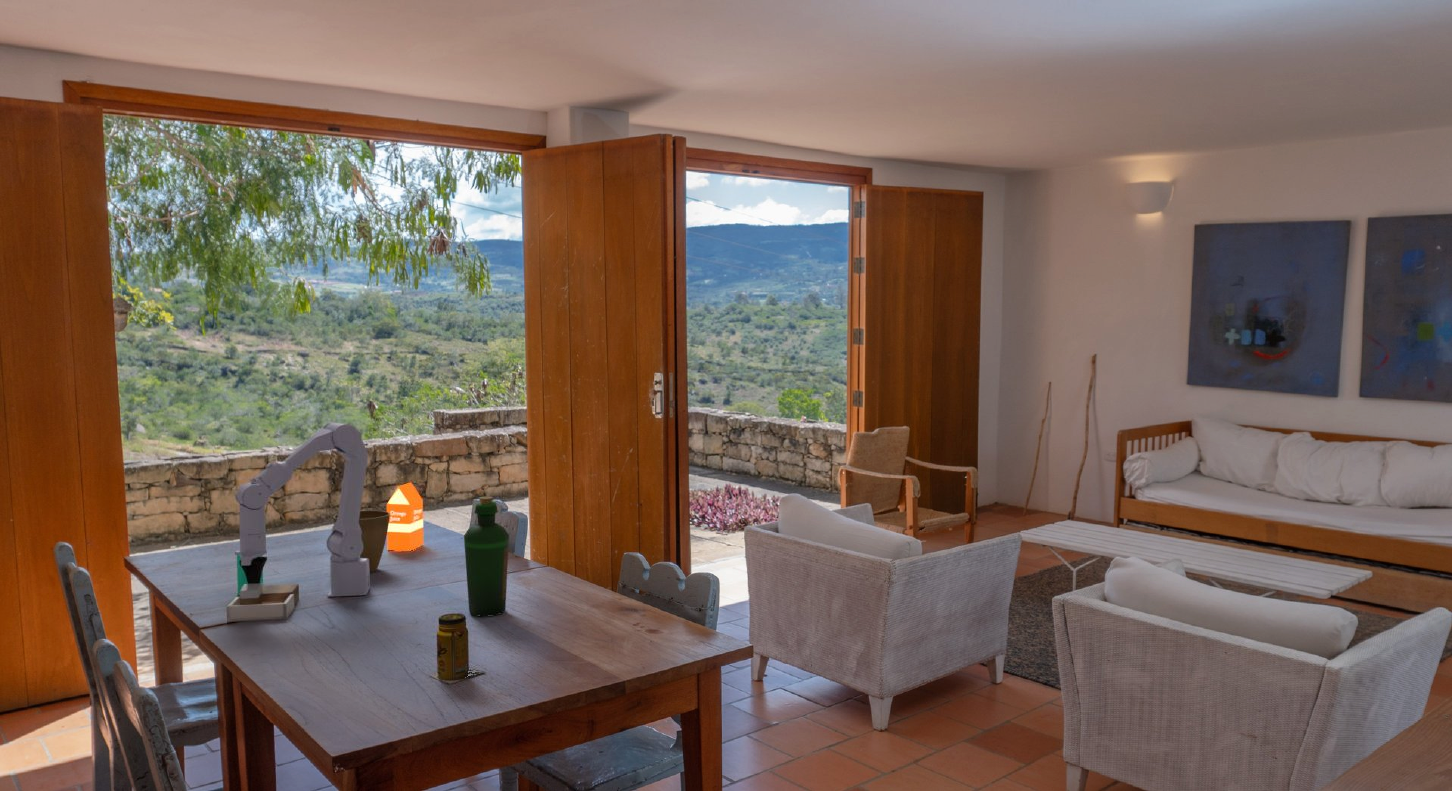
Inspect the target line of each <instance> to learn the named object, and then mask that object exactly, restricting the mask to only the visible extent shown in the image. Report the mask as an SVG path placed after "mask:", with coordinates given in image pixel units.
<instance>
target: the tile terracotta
mask: <svg viewBox="0 0 1452 791" xmlns="http://www.w3.org/2000/svg"><path fill="white" fill-rule="evenodd" d="M274 603H283V602H281V601H275V602H262V604H274Z"/></svg>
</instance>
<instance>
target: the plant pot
mask: <svg viewBox="0 0 1452 791" xmlns="http://www.w3.org/2000/svg"><path fill="white" fill-rule="evenodd" d="M337 517H338V513H337V514H334V515H333V523H334V524H335V522H336V521H337ZM389 517H390V513H389V512H387V510H386V511H384V510H370V509H369V510H360V516H359V525H360V528H361V531H362V535H361V539H362V542H363V551H362V553H361V555H360V558H368V559H369V572H370V573H373V572H375V571H377V570H378V567H379V565H380V561H381V558H382V555H383V552H384V548H385V545H386V542H387V531H388V525H389Z"/></svg>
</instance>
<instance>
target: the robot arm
mask: <svg viewBox="0 0 1452 791" xmlns="http://www.w3.org/2000/svg"><path fill="white" fill-rule="evenodd" d="M362 437H363V435H362V433H361V432H360V431H359V430H358V429H357V428H356V427H355V426H353V425H352V424H349V423H348V424H347V423H341V422H339V421H329V422H327V423H326V424H325V425H324V426H323V427H321V428H319V429H317V430H316V431H315V432H314V433H313V434H312V435H311V436H310V437H309V438H308V439H306V441H305V442H304V443H302V444H301V445H300V446H299V447H298V448H296V450H294V451H293V452H292V453H291V454H290V455H289V456H288V457H286V458H285V459H284V460H283V461H274V462H273V463H271V462H269V463H267V464H266V465H265V467H266V468H265V469H264V470H263V471H262V472H261V473H259V474H257V476H255V477H254V476H252V477H251V478H250V479H249V480H250V482H247V483H244V484H242V485H241V486H239V487H238V488H237V491H236V494H234V496H235V497H234V498H235V500H236V502H237V503H238V504H239V506H238V508H239V514H238V518H239V523H238V524H239V550H235V551H234V555H235V556H237V555H240V557H241V560H240V561H239V563H240V566H241V567H242V569H243V571H244V573H245V575H246V579H247V583H248V584H259V583H260V580H261V575H262V571H263V570H264V567H265V565H266V563H267V560H268V557H267V556H264V555H267V553H268V549H267V540H266V539H267V538H266V537H267V534H266V525H267V524H266V508H265V507H266V505H267V504H268V502H269V498H270V497H271V496H272V495H274V493H275V494H276V492H278V490H280V489H281V488H282V487H283V486H285V485H286V484H287V483H289V481H290V480H292V478H293V472H294V471H295V470H296V469H298V468H299V467H301V466H302V465H303V464H304V463H306V462H307V461H308V460H310V459H312V458H313V457H314V456H315V455H317V454H318V453H320V452H323V451H333V450H336V451H337V452H338V453H339V454H340V455H341V456H342V457H343V458H344V459H345V461H344V468H343V477H342V483H341V489H340V490H341V491H340V496H339V505H338V510H337V511H338V513H337V514H338V517H337V521H336V522H335V523H334V524H333V525H332V529H331V533H330V534H329V535H328V537H327V539H326V548H327V550H328V551H329V552H330V553H331V554H330V558H329V560H330V561H329V562H330V563H329V565H330V568H329V569H330V572H329V573H330V590H329V592H328V593H327V595H326V597H327V598H331V597H332V598H333V597H352V596H366V595H367V594H368V592H369V590H370V588H371V580H370V576H371V574H370V573H371V572H369V559H368V558H360V555H361V553H362V551H363V542H362V539H361V535H362V531H361V528H360V525H359V516H360V511H361V509H362V500H363V494H364V486H365V481H366V480H365V479H366V473H367V467H368V458H369V452H368V451H367V448H366V446H365V443H364V440H363V438H362ZM259 556H262V557H259ZM263 572H264V571H263Z"/></svg>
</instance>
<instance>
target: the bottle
mask: <svg viewBox="0 0 1452 791" xmlns="http://www.w3.org/2000/svg"><path fill="white" fill-rule="evenodd" d="M478 498H479V501H478V502H476V504H475V507H474V513H475V514H476V518H477V523H475V524H473V525H472V526H470V527H469V528H468V529H467V531H466V532H465V534H464V535H463V542H464V555H465V557H464V558H465V568H466V569H465V570H466V571H465V572H466V583H467V584H466V586H467V599H468V600H467V601H468V611H469V614H471V615H473V616H476V615H480V616H479V617H484V616H486V617H489V616H488V615H494V616H497V615H496V614H498V615H500V614H502V613H504V612H505V611H506V606H507V605H506V604H507V587H508V586H507V585H508V584H507V582H508V567H509V566H508V565H509V564H508V563H509V560H508V559H509V542H510V541H509V540H510V536H509V533H508V532H507V530H506V529H505V527H504V526H502V525H501V524H499V523H497V522H496V514H497V513H499V510H498V507H497V502H495V501H494V497H493V496H480V497H478ZM499 613H500V614H499Z"/></svg>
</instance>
